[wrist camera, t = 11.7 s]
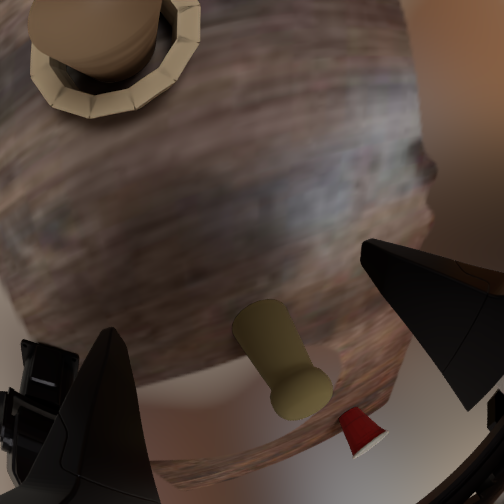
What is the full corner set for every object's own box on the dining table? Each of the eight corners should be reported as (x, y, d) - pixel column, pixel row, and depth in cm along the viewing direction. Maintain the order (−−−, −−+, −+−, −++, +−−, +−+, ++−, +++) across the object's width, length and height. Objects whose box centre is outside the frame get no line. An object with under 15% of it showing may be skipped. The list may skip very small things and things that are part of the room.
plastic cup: (370, 402, 61) (393, 433, 51) (338, 425, 61) (359, 457, 52) (360, 397, 54) (387, 434, 45) (324, 423, 55) (347, 460, 45)
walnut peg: (131, 92, 14) (114, 75, 6) (67, 71, 11) (5, 48, 4) (170, 28, 12) (192, -34, 5) (105, 7, 10) (81, -59, 2)
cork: (227, 345, 28) (267, 436, 19) (238, 300, 25) (290, 400, 16) (278, 339, 30) (326, 417, 21) (294, 297, 27) (356, 379, 19)
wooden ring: (147, 133, 15) (146, 139, 13) (29, 95, 11) (6, 94, 8) (216, 16, 13) (231, -1, 10) (99, -24, 8) (91, -45, 5)
